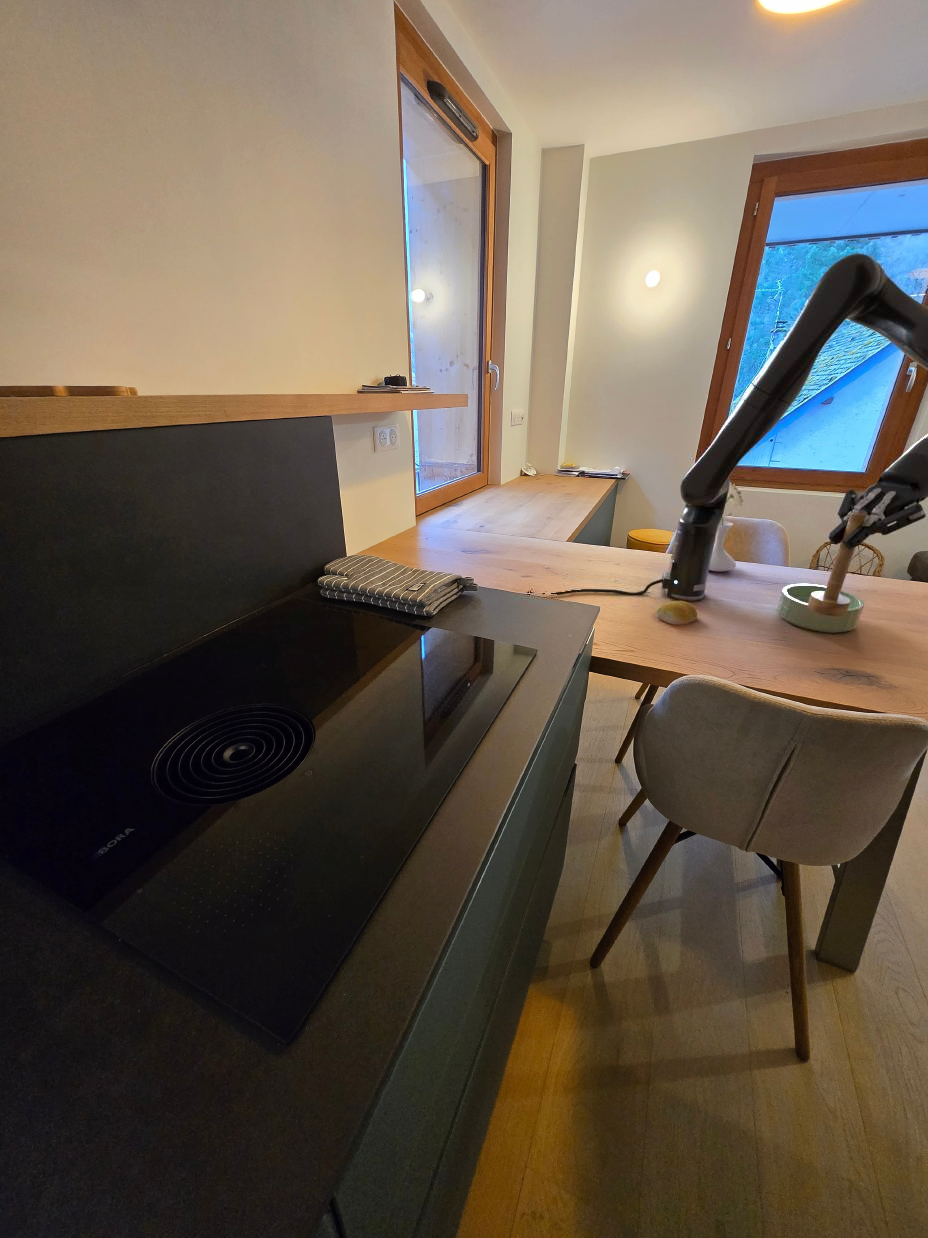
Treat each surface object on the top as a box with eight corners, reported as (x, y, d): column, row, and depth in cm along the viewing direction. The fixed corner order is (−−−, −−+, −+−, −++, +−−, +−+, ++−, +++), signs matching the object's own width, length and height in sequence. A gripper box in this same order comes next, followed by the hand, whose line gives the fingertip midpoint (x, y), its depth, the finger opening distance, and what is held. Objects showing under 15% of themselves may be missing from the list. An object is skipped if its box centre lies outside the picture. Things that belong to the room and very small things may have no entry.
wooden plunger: (812, 614, 90) (844, 516, 82) (803, 601, 95) (832, 508, 87) (851, 618, 88) (887, 518, 80) (839, 605, 93) (872, 510, 85)
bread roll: (702, 619, 117) (705, 603, 116) (679, 628, 113) (682, 612, 111) (672, 607, 124) (675, 592, 122) (649, 616, 119) (651, 600, 118)
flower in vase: (737, 576, 142) (758, 488, 131) (694, 572, 146) (711, 486, 135) (731, 562, 153) (750, 480, 142) (692, 558, 157) (707, 478, 146)
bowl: (785, 630, 112) (792, 605, 109) (769, 603, 125) (775, 581, 122) (866, 639, 107) (876, 614, 105) (841, 610, 120) (849, 587, 118)
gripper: (877, 446, 87) (798, 519, 90) (963, 457, 74) (868, 541, 78) (890, 475, 90) (814, 545, 93) (976, 490, 78) (884, 570, 81)
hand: (839, 543), depth 85 cm, fingers closed on wooden plunger
